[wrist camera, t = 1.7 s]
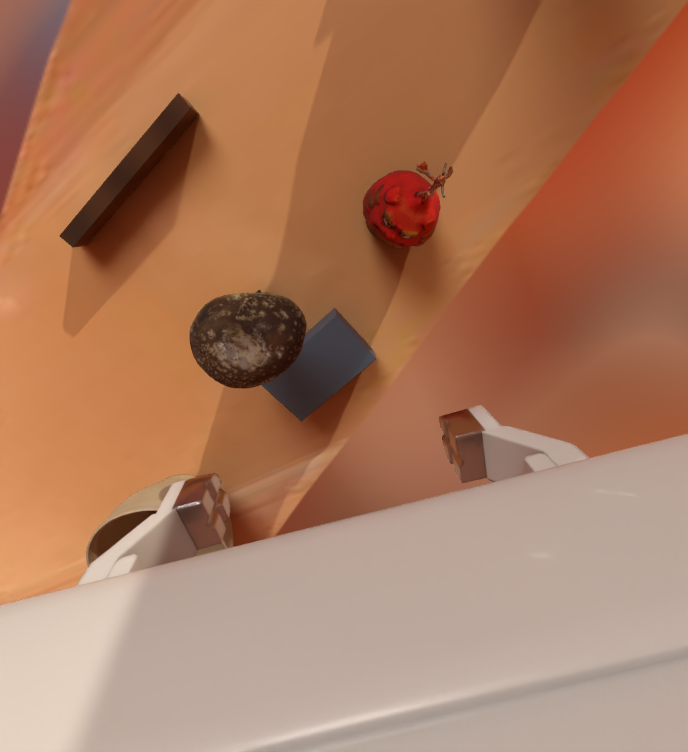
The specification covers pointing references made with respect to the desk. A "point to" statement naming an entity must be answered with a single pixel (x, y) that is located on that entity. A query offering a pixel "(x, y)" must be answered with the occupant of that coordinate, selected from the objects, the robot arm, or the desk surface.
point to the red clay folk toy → (404, 207)
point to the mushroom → (247, 338)
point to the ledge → (130, 171)
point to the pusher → (321, 366)
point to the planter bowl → (141, 520)
